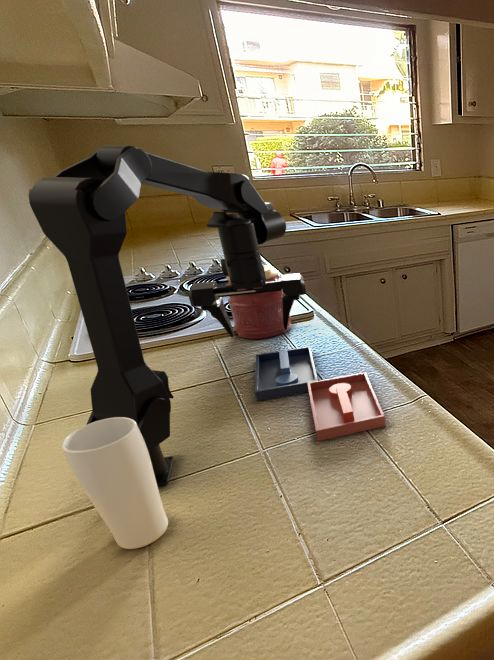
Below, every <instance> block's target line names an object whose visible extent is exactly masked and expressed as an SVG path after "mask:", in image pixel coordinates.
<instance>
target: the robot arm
mask: <svg viewBox="0 0 494 660" xmlns="http://www.w3.org/2000/svg"><path fill="white" fill-rule="evenodd" d="M142 185H143V186H149V187H153V188H157V189H161V190H165V191H169V192H172V193H176V194H177V193H178V194H181V195H185V196H188V197H191V198H194V199H195V201H196V202H197V203H198V204H200V205H203V206H205V207H207V208H209V209H212V210H219V211H213V213H212V216H211V217H210V218H209V219H208V220H207V222H206V227H207V228H210V229H212V228H213V229H217V233H218V237H219V241H220V245H221V249H222V253H223V258H220V259H219V260H220V267H221V272H222V275H223V277H225V278H226V277H229V279H230V283H231V285H229V286H225V285H222V286H221V285H219V286H218V284H217V281H215V280H213V281H204V282H194V283H193V284H192V285H191V287H190V289H189V291H188V293H187V294H188V299H189V303H190V306H191V307H193V308H198V307H199V308H200V310H201V311H207V312H209V313H210V314H211V315H212V316H213V317H214V318H215V319H216V320H217V321H218V323H219V324H220V325H221V326H222V328H224V330H225V331H226V333H228V335H229V336H230V338H234V337H235V333H234V329H233V326H232V325H233V324H232V323H231V321H230V318H229V317H230V316H229V315H228V312H227V310H226V308H225V307H226V306H225V303H224V300H223V298H229V296H237V295H246V294H256V293H265V292H274V291H282V311H283V325H284V330H287V325H288V320H289V314H290V313H291V310H292V308H293V305H294V301H298V300H300V296H304V295H306V294H307V291H306V285H305V284H306V283H305V279H304V277H303V275H302V274H301V273H299V272H298V273H287V274H280V275H279V277H280V278H281V280H279V281H269V282H266V275H265V270H264V266H263V265H264V264H263V261H262V257H261V251H260V247H259V245H263V244H267V243H270V242H272V241H275V240H278V239H281V238H282V237H284V235H285V234H286V231H287V222H286V220H285V219H284V217H283V215H282V214H281V213H280V212H279V211H278V210H275V209H274V204H273V203H272V202H265V201H264V199H263V197H262V196H261V195H260V194H259V192H258V191H257V189H256V188H255V186H254V185H253V183H252V182H251V179H250V178H249V177H248V176H247V175H245V174H243V173H235V172H222V171H221V172H219V171H218V172H217V171H206V170H203V169H200V168H198V167H194V166H191V165H187V164H185V163H181V162H178V161H175V160H172V159H169V158H165V157H162V156H160V155H157V154H153V153H151V152H150V153H149V152H147V151H144V150H143V149H141V148H138V147H137V146H134V145H108V144H107V145H103V146H100V147H99V148H97V149H96V150H94V152H92V153H91V154H90V155H89V156H87V157H86V158H83V159H81V160H79V161H77V162H75V163H73V164H71V165H69V166H67V167H65V168H63V169H61V170H59V171H58V172H57V173H55V174H54V175H53V176H49V177H41V179H39V180H37V181H36V182H35V183H34V185H33V186H32V188H31V187H30V188H29V190H28V200H29V201H28V203H29V205H30V208H31V210H32V212H33V215H34V216H35V218H36V221H37V223H38V225H39V228H40V229H41V231H42V233H43V235H44V236H45V237H46V238H47V239H48V240H49V241H50V242H51V243H52V244H53V245H54V246H55V248H57V249H58V251H59V252H60V253H61V254H62V255H63V256H64V258H65V259H66V262H67V266H68V269H69V272H70V275H71V279H72V284H73V287H74V290H75V294H76V297H77V300H78V304H79V307H80V311H81V313H82V317H83V321H84V325H85V328H86V332H87V334H88V338H89V341H90V346H91V349H92V352H93V355H94V359H95V362H96V366H97V372H96V375H95V376H94V378H93V382H92V385H91V386H90V387H91V388H90V399H91V410H92V411H91V413H90V415H89V417H88V420H87V422H86V424H85V425H87V424H90V423H92V422H96V421H99V420H103V419H107V418H115V417H126V418H130V419H133V420H134V421H135V422H136V423H137V426H138V428H139V430H140V432H141V434H142V436H143V438H144V441H145V443H146V446H147V449H148V452H149V455H150V459H151V463H152V467H153V470H154V474H155V478H156V482H157V486H158V488H162V487H165V486H167V485H169V482H170V478H171V474H172V470H173V467H174V462H175V457H174V456H171V455H170V456H166V457H165V456H164V453H163V451H162V448H161V446H160V445H161V444H162V443H163V442H164V441H166V440H168V438H170V437H171V411H172V404H171V399H174V398H175V397H174V395H173V393H172V392H171V388H170V385H169V383H170V382H169V376H168V375H167V373H166V371H165V370H155V369H151V368H150V367H149V366H148V364H147V363H146V361H145V359H144V354H143V350H142V347H141V343H140V338H139V334H138V330H137V325H136V323H135V318H134V314H133V310H132V306H131V301H130V298H129V293H128V290H127V286H126V282H125V277H124V273H123V269H122V266H121V261H120V252H121V249H122V246H123V244H124V242H125V239H126V237H127V233H128V229H127V215H126V211H128V209H130V208H131V206H132V205H134V204H135V202H137V201H138V199H139V198H140V193H141V186H142ZM259 287H262V288H259ZM254 288H257V289H254ZM240 289H246V290H240ZM237 290H238V291H237ZM287 331H288V330H287Z"/></svg>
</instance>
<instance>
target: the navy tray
mask: <svg viewBox="0 0 494 660" xmlns="http://www.w3.org/2000/svg"><path fill="white" fill-rule="evenodd" d="M286 350H287V352H288V357H289V363H290V371H291V373H292V374H296V375H297V376H298V383H296V384H290V385H285V386H279V387H277V385H276V381H275V380H276V378H277V377H278V376H280V375H282V373H281V368H280V357H279V351H280V350H278V351H277V350H276V351H271V352H264V353H258V354H255V372H254V373H255V374H254V375H255V376H254V394H255V398H256V401H257V402H261V401H266V400H271V399H277V398H283V397H288V396H293V395H299V394H304V393H309V391H308V385H307V383H308V382H314V381H319V379H318V374H317V370H316V369H317V368H316V365H315V361H314V356H313V352H312V346H302V347H297V348H290V349H286Z"/></svg>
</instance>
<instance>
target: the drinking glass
mask: <svg viewBox="0 0 494 660" xmlns="http://www.w3.org/2000/svg"><path fill="white" fill-rule="evenodd" d="M86 424H87V423H86ZM86 424H85V425H82V426H80V427H78V428H77V429H75V430H73V431H72V432H70V433H69V434H68V435H66V437H64V438H63V440H62V442H61V444H60V447H61V450H62V453H63V455H64V457H65V460H66V462H67V464H68V466H69V469H70V470H71V473H72V475H73V476H74V478H75V480H76V481H77V483H78V485H79V486H80V488H81V489H82V491H83V492H84V494H85V496H86V497H87V499H88V500H89V501H90V503H91V504H92V505H93V507H94V509H95V510H96V512H97V513H98V515H99V516H100V517H101V519H102V520H103V522H104V523H105V525H106V527H107V529H108V530H109V531H110V533H111V535H112V536H113V539H114V541H115V542H116V544H117V546H119V547H120V548H122V549H124V550H125V549H126V550H137V549H140V548H143V547H146V546H148V545H150V544H152V543H154V542H155V541H157V540H158V539H160V538H161V537H162V536H163V535H164V533H165V532H166V531H167V529H168V526H169V519H168V516H167V513H166V510H165V508H164V504H163V501H162V497H161V494H160V490H159V487H158V486H157V482H156V478H155V474H154V470H153V467H152V463H151V459H150V455H149V452H148V449H147V446H146V443H145V441H144V438H143V436H142V434H141V432H140V430H139V428H138V426H137V423H136V422H135V421H134V420H133V419H130V418H126V417H115V418H107V419H103V420H99V421H96V422H92V423H90V424H87V425H86Z"/></svg>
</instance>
